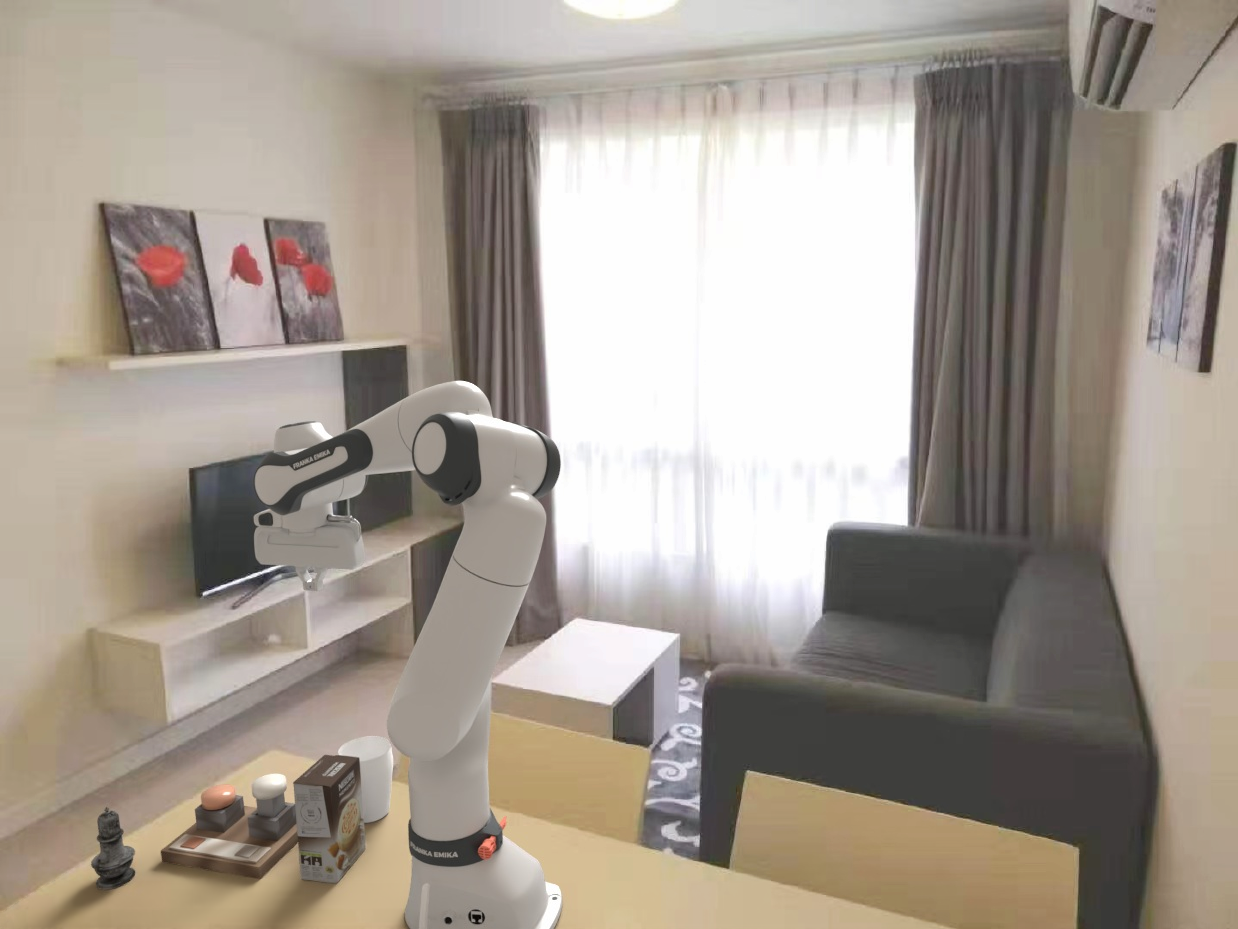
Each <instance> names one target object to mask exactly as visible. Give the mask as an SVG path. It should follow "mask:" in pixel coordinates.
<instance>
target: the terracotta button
mask: <svg viewBox="0 0 1238 929" xmlns="http://www.w3.org/2000/svg"><path fill="white" fill-rule="evenodd" d="M236 793H237V792H236V787H235V786H234V785H232V784H225V783H224V784H223V783H222V784H218V785H214V786H211V787H209V788H207V789H205V790H204V791H203V792H202V793H201V794H200V802H201V803H200V804H202V807H203V808H204V809H207V810H217V809H218V810H222V809H223V808H224V807H227V806H229V805H230V804H232V803H233V802H234V801H235V800H236V795H237V794H236Z"/></svg>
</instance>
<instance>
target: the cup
mask: <svg viewBox="0 0 1238 929" xmlns="http://www.w3.org/2000/svg"><path fill="white" fill-rule="evenodd" d="M337 751H338V752H337V753H338V754H337V755H342V756H352V757H359V758H360V774H361V788H362V803H363V818H364V824H366V823H367V824H368V823H373V822H376V821H379V820H381V819H383V818H384V817H385V816H386V815H387V814H388V813H389V811H390V806H391V797H392V796H391V794H392V783H393V781H392V780H393V772H394V771H393V769H394V756H393V750H392V742H391V740H390V739H388V738H386V737H384V736H380V735H367V736H360V737H357V738H354V739H351V740H349V741H346V742H345V743H343V744H342V745H341V746H340V747H339V749H338V750H337Z"/></svg>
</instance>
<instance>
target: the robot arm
mask: <svg viewBox="0 0 1238 929" xmlns="http://www.w3.org/2000/svg"><path fill="white" fill-rule="evenodd" d="M273 440H274V441H273V452H269V453H267V454H266V455H265V456H264V457H263V458H262V459H261V460H260V462H259V464H258V466H257V468H256V470H255V472H254V475H253V489H254V492H255V495H256V498H258V500H259V501H260V503H262V504H263V505H264V506H265V507H266V508H267V509H265V510H263V511H260V512H258V513H256V514H254V515H253V523H254V525H255V526H256V527H255V531H254V534H253V542H254V543H253V545H254V546H253V547H254V555H255V559H256V560H257V562H258V563H259V564H260V565H268V566H282V567H284V566H285V567H295V568H294V569H295V573H296V575H297V577H298V578H299V579H300V580H301V582H302V588H303V591H308V592H309V591H311V592H320V591H322V590H324V578H325V577H326V575H327V573H328V571H329V569H333V570H334V569H336V570H349V571H351V570H352V571H353V570H355V569H357V568H359V567H361V566H363V565H364V563H365V562H366V559H367V558H366V552H365V551H366V550H365V545H364V541H363V537H362V527H361V524H360V522H359V521H358V520H357V519H356V518H354V517H353V515H337V514H334V511H333V510H334V509H333V508H334V507H333V503H336V502H339V501H345V500H347V499H351V498H354V497H357V496H359V495H361V493H363V492H364V490H365V488H366V487H367V484H368V480H369V475H379V474H391V473H399V472H409V471H411V472H412V471H416V474H417V475H418V476H419V478H420V479H421V481H422V483H424V484H425V485H426V486H427V487H428V488H429V489H431V490H432V491H434V492H436V493H437V495H438V496H439V498H440V500H441V501H442V503H444V504H445V505H446V506H448V507H451V506H452V507H455V506H458V505H462V507H463V510H464V523H463V526H462V530H461V533H460V535H459V538H458V540H457V542H456V545H455V547H454V549H453V552H452V555H451V557H450V560H449V562H448V565H447V567H446V571H445V573H444V575H443V578H442V581H441V583H440V586H439V589H438V590H437V593H436V597H435V598H434V602H433V604H432V606H431V609H430V611H429V613H428V615H427V617H426V620H425V621H424V624H423V626H422V629H421V631H420V633H419V635H418V637H417V640H416V642H415V644H414V646H413V648H412V651H411V653H410V655H409V658H408V660H407V662H406V665H405V667H404V669H403V671H402V673H401V676H400V679H399V681H398V683H397V686H396V688H395V691H394V693H393V695H392V699H391V701H390V705H389V709H388V713H387V719H386V731H387V735H388V738H389V741H390V742H391V744H392V745H393V746H394V747H395V748H396V750H397V751H398V752H400V753H401V754H402V755H403V756H406V757H407V758H409V762H408V763H409V764H408V769H407V780H408V781H407V782H408V784H407V785H408V800H409V812H410V813H409V814H410V818H409V820H408V824H407V825H408V826H407V828H408V829H407V830H408V832H407V833H408V849H409V853H410V855H411V876H410V884H409V885H410V886H409V891H408V898H407V902H406V905H405V909H404V910H405V911H404V918H405V919H404V920H405V922H406V924H407V926H408V928H409V929H555V927H556V925H557V923H558V921H559V918H560V916H561V912H562V908H563V898H562V897H563V896H562V891H561V888H560V887H559V885H557V884H554V883H551V882H547V881H546V877H545V873H544V870H543V867H542V865H541V863H540V862H539V860H538V859H537V858H535V857H534V856H533V855H531V854H530V853H528V852H527V851H526V850H524V849H523V848H521V847H520V846H518V844H516V843H515V842H513V841H512V840H511V839H510V838H508V837H506V836H505V835H504V834H503V830H504V829H505V828H506V826H507V823H508V822H507V816H506V815H504V817H503V818H502V819H501V821H500V822H498V820H497V819H496V816H495V814H494V812H493V811H492V808H491V806H490V789H489V748H490V734H491V733H490V732H491V731H490V730H491V715H492V676H493V674H494V672H495V669H496V667H497V664H498V663H499V660H500V656H501V654H502V652H503V651H504V647H505V646H506V643H507V641H508V638H509V635H510V634H511V631H512V629H513V626H514V624H515V621H516V618H517V616H518V614H519V611H520V608H521V606H522V604H523V601H524V599H525V596H526V593H527V592H528V588H529V586H530V583H531V581H532V579H533V575H534V573H535V570H536V567H537V563H538V561H539V558H540V554H541V549H542V547H543V546H542V545H543V542H544V537H545V532H546V526H547V512H546V510H545V508H544V506H543V504H542V503H541V502H540V501H539V499H542V498H543V497H545V496H547V494H549V493H550V492H551V491H552V490H553V488H554V487H555V486H556V484H557V482H558V480H559V476H560V473H561V467H562V466H561V465H562V463H561V462H562V461H561V454H560V451H559V447H558V446H557V444H556V443H555V441H554V440H553V439H552V438H550V437H549V436H548V435H546V434H544V433H543V432H541V431H539V430H538V429H536V428H533V427H531V426H528V425H526V424H525V425H524V424H521V423H518V422H515V421H511V422H509V421H504V420H502V419H501V418H496V417H494V416H493V412H492V407H491V404H490V400H489V399H488V397H487V396H486V394H485V393H484V392H483V390H481V389H480V388H479V387H478V386H477V385H475V384H473V383H471V382H469V381H464V380H452V381H447V382H442V383H439V384H435V385H432V386H430V387H426V388H424V389H421V390H419V391H417V392H415V393H412V394H411V395H408V396H407V397H405V398H403V399H401V400H398V402H395V403H394V404H392V405H390V406H389V407H386V408H385V409H384V410H381V411H380V412H378V413H377V414H375V415H374V416H372V417H370V418H368V419H366V420H363V421H362V422H360V423H357V424H356V425H355V426H353V427H351V428H350V429H347V430H345V431H344V432H342V433H340V434H338V435H336V436H332V435H331V434H329V432H327V431H326V429H325V428H324V426H323V424H322V423H321V422H320V421H315V420H308V421H301V422H295V423H289V424H285V425H282V426H280V427H279V428H278V429H276V430H275V434H274V439H273ZM310 568H313V573H314V574H316V576H315V577H314V578H312V576H311V575H310V572H309V571H308V570H309V569H310Z"/></svg>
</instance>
